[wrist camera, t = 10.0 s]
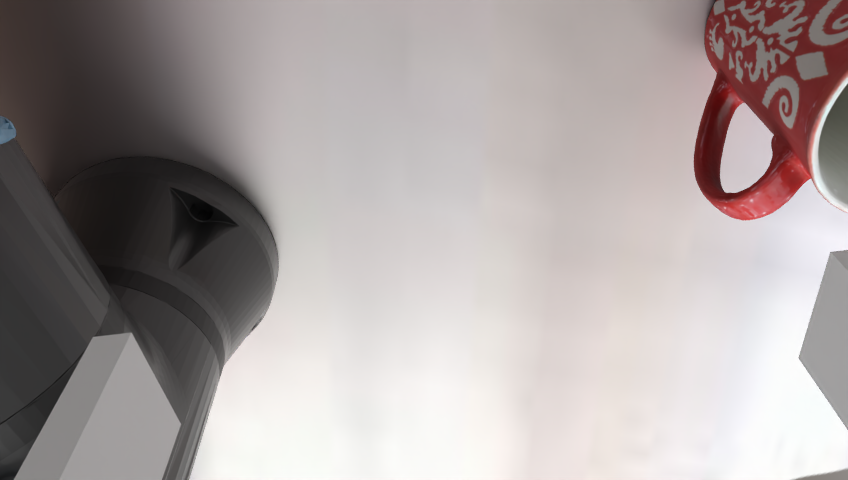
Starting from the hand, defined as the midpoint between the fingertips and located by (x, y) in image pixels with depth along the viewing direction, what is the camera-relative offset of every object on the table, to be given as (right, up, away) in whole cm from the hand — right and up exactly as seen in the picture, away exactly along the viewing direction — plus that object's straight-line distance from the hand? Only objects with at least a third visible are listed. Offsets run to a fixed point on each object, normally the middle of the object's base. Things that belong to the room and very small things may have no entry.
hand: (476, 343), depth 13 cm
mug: (+17, +13, +24) cm, 32 cm away
